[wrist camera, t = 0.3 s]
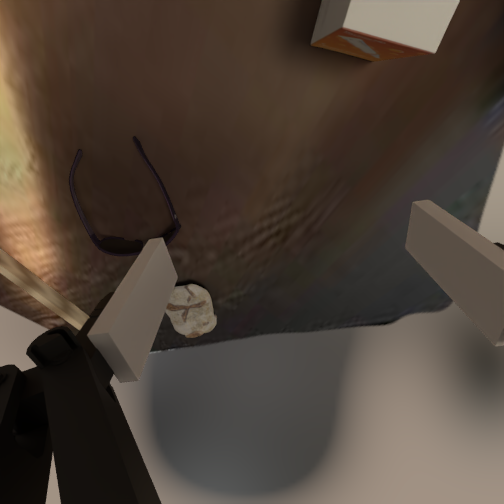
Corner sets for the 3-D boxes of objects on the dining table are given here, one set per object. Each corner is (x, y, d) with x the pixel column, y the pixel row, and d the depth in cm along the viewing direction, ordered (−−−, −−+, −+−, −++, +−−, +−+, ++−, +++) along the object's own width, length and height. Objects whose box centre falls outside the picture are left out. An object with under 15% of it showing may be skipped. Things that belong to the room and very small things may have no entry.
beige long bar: (-68, 206, 42) (-96, 217, 39) (-48, 187, 40) (-75, 197, 37) (97, 330, 57) (88, 346, 53) (117, 320, 55) (108, 335, 52)
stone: (158, 283, 50) (152, 294, 47) (206, 276, 49) (202, 287, 46) (180, 329, 56) (175, 342, 53) (223, 324, 55) (220, 337, 52)
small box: (308, 46, 32) (339, 28, 21) (328, -29, 28) (376, -98, 17) (374, 63, 32) (437, 55, 21) (400, -7, 29) (490, -60, 18)
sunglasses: (115, 247, 46) (101, 264, 42) (61, 153, 38) (37, 162, 34) (191, 231, 45) (184, 247, 41) (151, 130, 37) (138, 137, 32)
